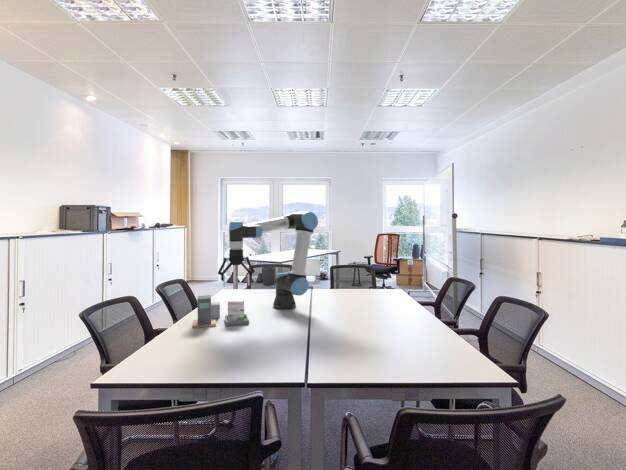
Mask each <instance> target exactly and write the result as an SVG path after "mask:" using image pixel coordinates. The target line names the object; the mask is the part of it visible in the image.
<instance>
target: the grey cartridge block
mask: <svg viewBox="0 0 626 470" xmlns="http://www.w3.org/2000/svg"><path fill="white" fill-rule="evenodd" d="M220 309H221V303H220V301H217V302H211V319H212V318H216V319H218V318H219V319H220V318H221V313H220V312H221V310H220Z"/></svg>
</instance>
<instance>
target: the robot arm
mask: <svg viewBox="0 0 626 470" xmlns="http://www.w3.org/2000/svg"><path fill="white" fill-rule="evenodd" d="M318 224H319V219H318V216H317V215H316V213H314V212H313V211H307V210H306V211H296V212H295V211H294V212H292V213H288V214H284V215H282V216H281V217H277V218H270V219H267V220H261V221H255V222H250V223H245V224H244V223H243V221H230V222H229V223H228V234H229V235H228V236H229V238H228V241H229V243H228V244H229V245H228V246H229V247H228V248H229V257H225V256H224V257H223V262H222V263H221V266H220V267H219V270H218V272H217V274H218V275H219V276H220V278H221V282H223V285H222V286H223V288H225V287H226V276H225V273H227V271H229V270H230V268H231V266H240V265H241V266H242V267H243V268H244V270H245V271H246V272H247V286H250V281H251V280H252V274H254V273H255V270H254V268H253V266H252V264H251V261H250V259H249V256H245V257H244V249H243V248H244V239H256V238H261V237H262V235H263V233H267V232H272V231H273V232H274V231H277V230H283V229H284V230H292V229H293V230H294V231H295V232H296V238H295V239H296V240H295V245H294V246H295V247H294V253H293V258H292V266H291V270H290V271H289V272H288V271H287V272H278V273H276V274H275V296H274V301H273V304H272V307H273V308H274V309H278V310H290V309H294V308H296V305H297V304H296V299H295V296H303V295H304V294H305V293H307V292H308V290H309V284H310V283H309V281H308V279H307V274H306V268H307V259H308V253H309V246H310V239H311V235H313V233H314V230H315V229H316V228H317V227H318ZM244 260H245V262H246V263H247V265H248V267H249V268H248V267H247V266H246V265H245V264H244ZM228 261H229V263H228V265H226V263H227V262H228ZM225 265H226V267H225V268H224V266H225ZM223 269H224V270H223Z"/></svg>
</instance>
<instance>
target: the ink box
mask: <svg viewBox="0 0 626 470" xmlns="http://www.w3.org/2000/svg"><path fill="white" fill-rule="evenodd" d="M244 314H245V299H230V300H228V301H227V315H228V321H241V320H245V317H244Z"/></svg>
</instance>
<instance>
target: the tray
mask: <svg viewBox="0 0 626 470" xmlns="http://www.w3.org/2000/svg"><path fill="white" fill-rule="evenodd" d="M244 317H245V320H241V321H228V314H227V315H224V322H225V327H235V326H248V325H250V319H249V317H248V314H247V313H244Z"/></svg>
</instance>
